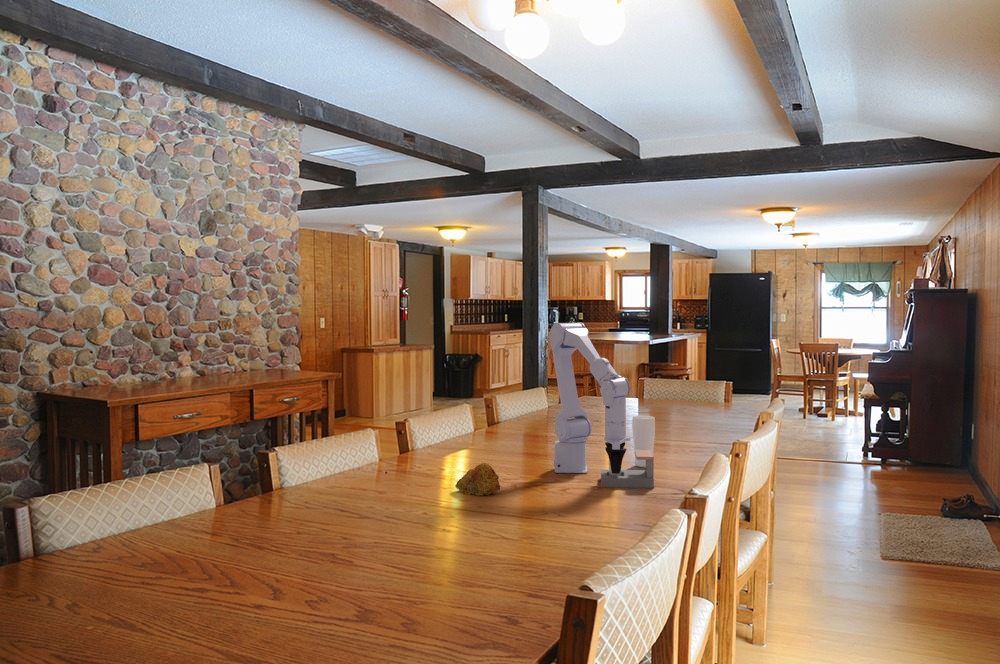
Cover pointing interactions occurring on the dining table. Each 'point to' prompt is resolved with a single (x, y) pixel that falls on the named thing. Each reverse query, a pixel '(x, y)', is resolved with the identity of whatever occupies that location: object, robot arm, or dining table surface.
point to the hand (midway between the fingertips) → (615, 470)
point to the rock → (479, 481)
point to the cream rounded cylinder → (643, 435)
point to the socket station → (632, 474)
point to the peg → (611, 471)
